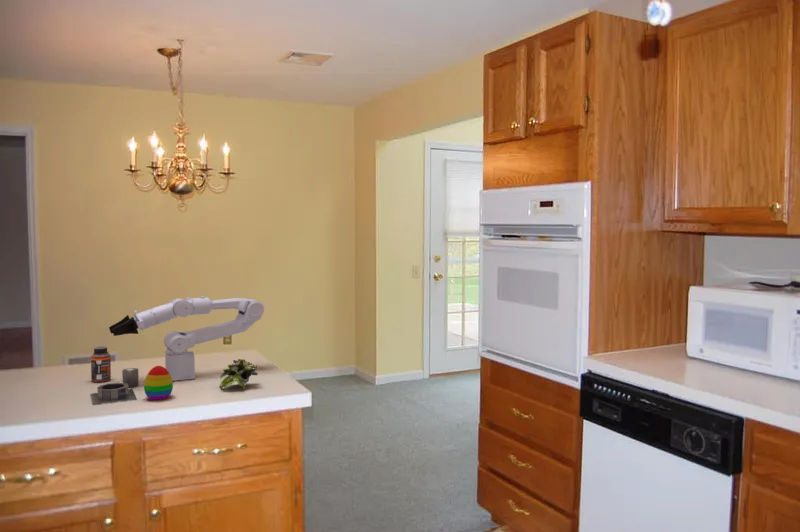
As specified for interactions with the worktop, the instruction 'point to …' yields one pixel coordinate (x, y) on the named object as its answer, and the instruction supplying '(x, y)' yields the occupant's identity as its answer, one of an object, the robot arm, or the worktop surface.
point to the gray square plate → (113, 393)
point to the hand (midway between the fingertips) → (111, 331)
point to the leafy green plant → (238, 373)
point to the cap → (130, 377)
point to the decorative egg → (158, 384)
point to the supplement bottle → (100, 365)
